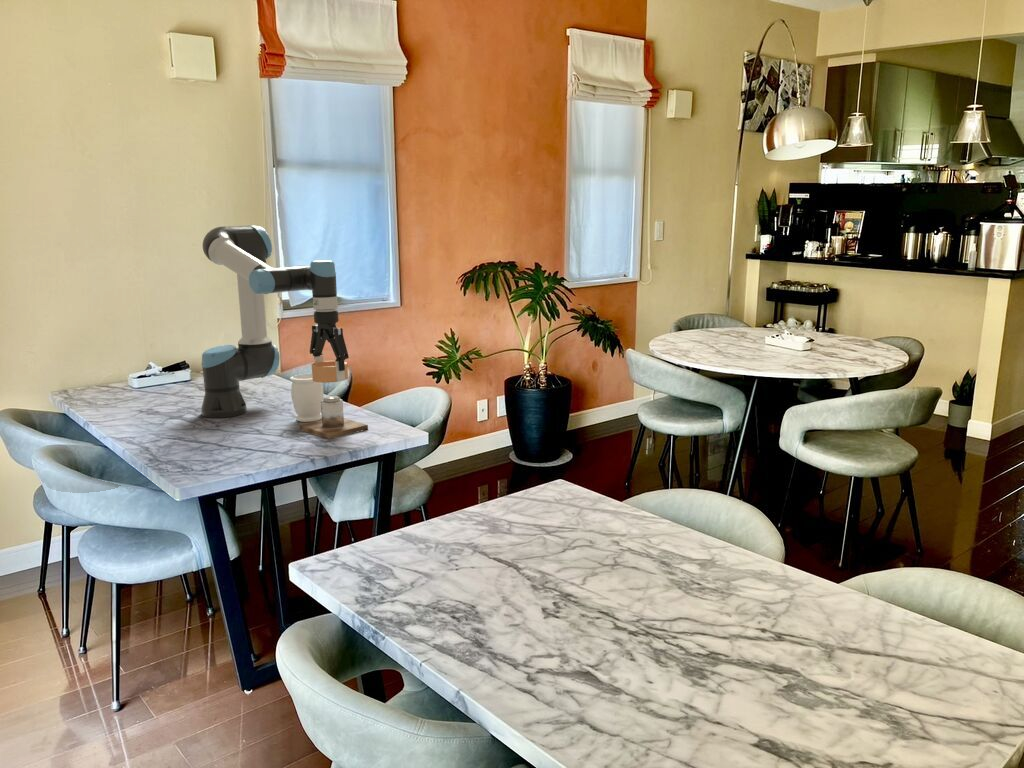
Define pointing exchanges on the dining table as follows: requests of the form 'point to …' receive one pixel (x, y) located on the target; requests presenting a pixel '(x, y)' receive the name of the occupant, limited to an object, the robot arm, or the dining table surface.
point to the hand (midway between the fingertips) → (330, 378)
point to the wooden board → (330, 433)
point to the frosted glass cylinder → (332, 412)
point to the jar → (306, 397)
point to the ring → (326, 371)
